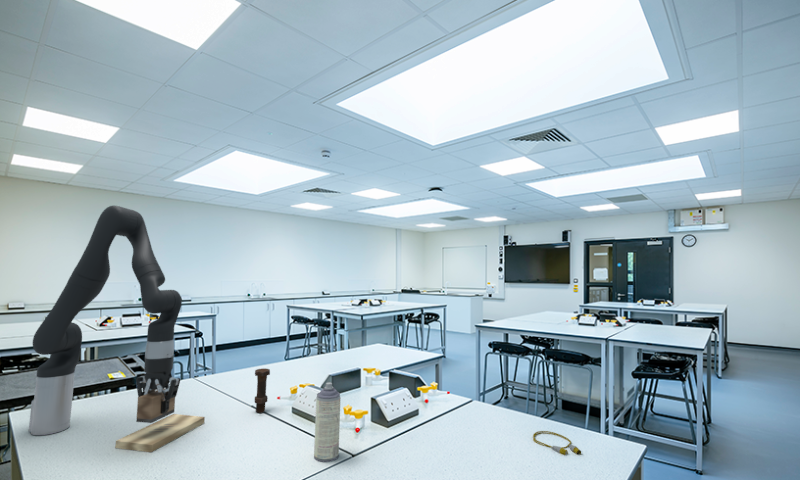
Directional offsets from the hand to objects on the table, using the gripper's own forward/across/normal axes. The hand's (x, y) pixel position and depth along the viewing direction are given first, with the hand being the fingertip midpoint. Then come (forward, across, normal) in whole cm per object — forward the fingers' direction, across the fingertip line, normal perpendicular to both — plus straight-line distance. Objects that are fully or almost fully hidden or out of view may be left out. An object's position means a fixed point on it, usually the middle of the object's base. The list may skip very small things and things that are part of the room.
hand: (156, 411), depth 117 cm
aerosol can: (+9, +54, +2) cm, 55 cm away
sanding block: (+1, 0, 0) cm, 1 cm away
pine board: (+8, 0, +4) cm, 9 cm away
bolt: (+9, +18, +29) cm, 35 cm away
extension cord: (+10, +120, +25) cm, 123 cm away
